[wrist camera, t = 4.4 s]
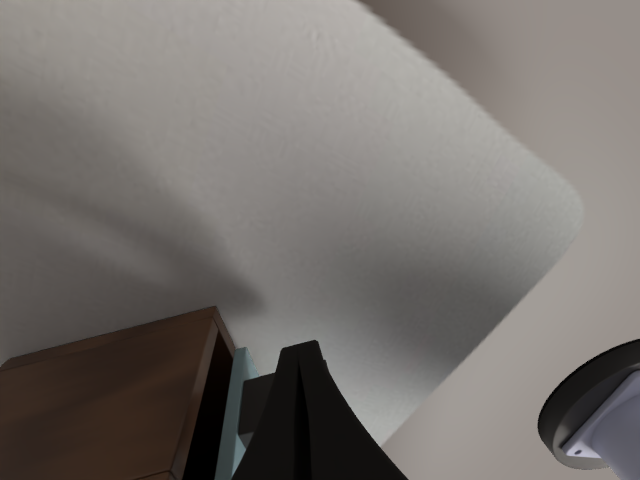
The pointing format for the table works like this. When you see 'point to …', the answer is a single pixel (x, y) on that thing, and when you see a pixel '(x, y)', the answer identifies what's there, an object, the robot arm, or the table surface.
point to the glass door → (241, 412)
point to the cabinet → (119, 404)
